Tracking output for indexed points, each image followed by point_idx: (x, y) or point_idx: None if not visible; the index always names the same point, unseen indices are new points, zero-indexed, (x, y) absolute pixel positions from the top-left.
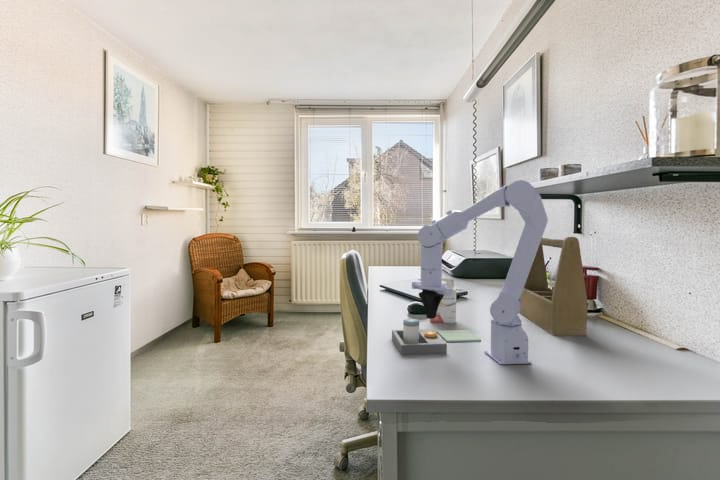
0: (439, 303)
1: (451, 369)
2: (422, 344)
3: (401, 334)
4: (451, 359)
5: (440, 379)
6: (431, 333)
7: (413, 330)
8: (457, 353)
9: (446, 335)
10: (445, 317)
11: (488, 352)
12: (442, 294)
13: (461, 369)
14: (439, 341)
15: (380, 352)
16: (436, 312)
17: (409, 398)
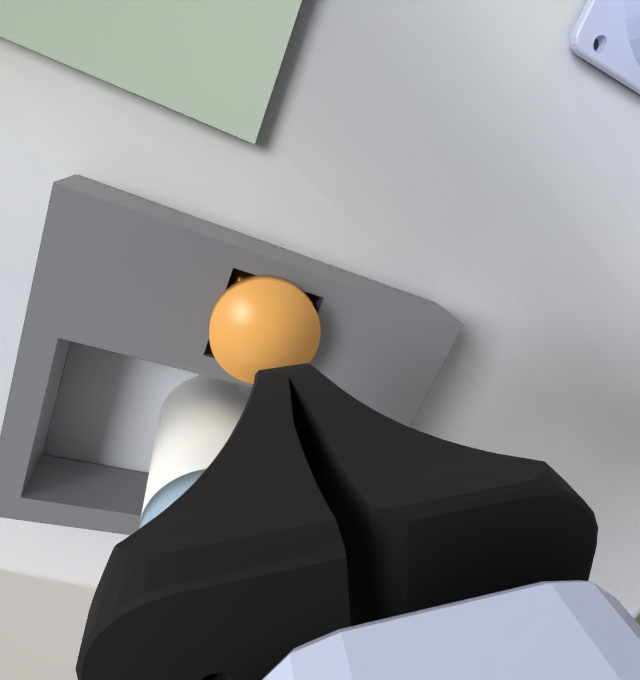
0: (411, 432)
1: (591, 407)
2: None
3: (39, 441)
4: (514, 335)
5: (618, 491)
6: (271, 331)
7: None
8: (471, 241)
9: (112, 27)
10: None
11: (620, 63)
12: (591, 546)
13: (619, 369)
14: (398, 339)
15: None
16: (332, 384)
17: (633, 613)
